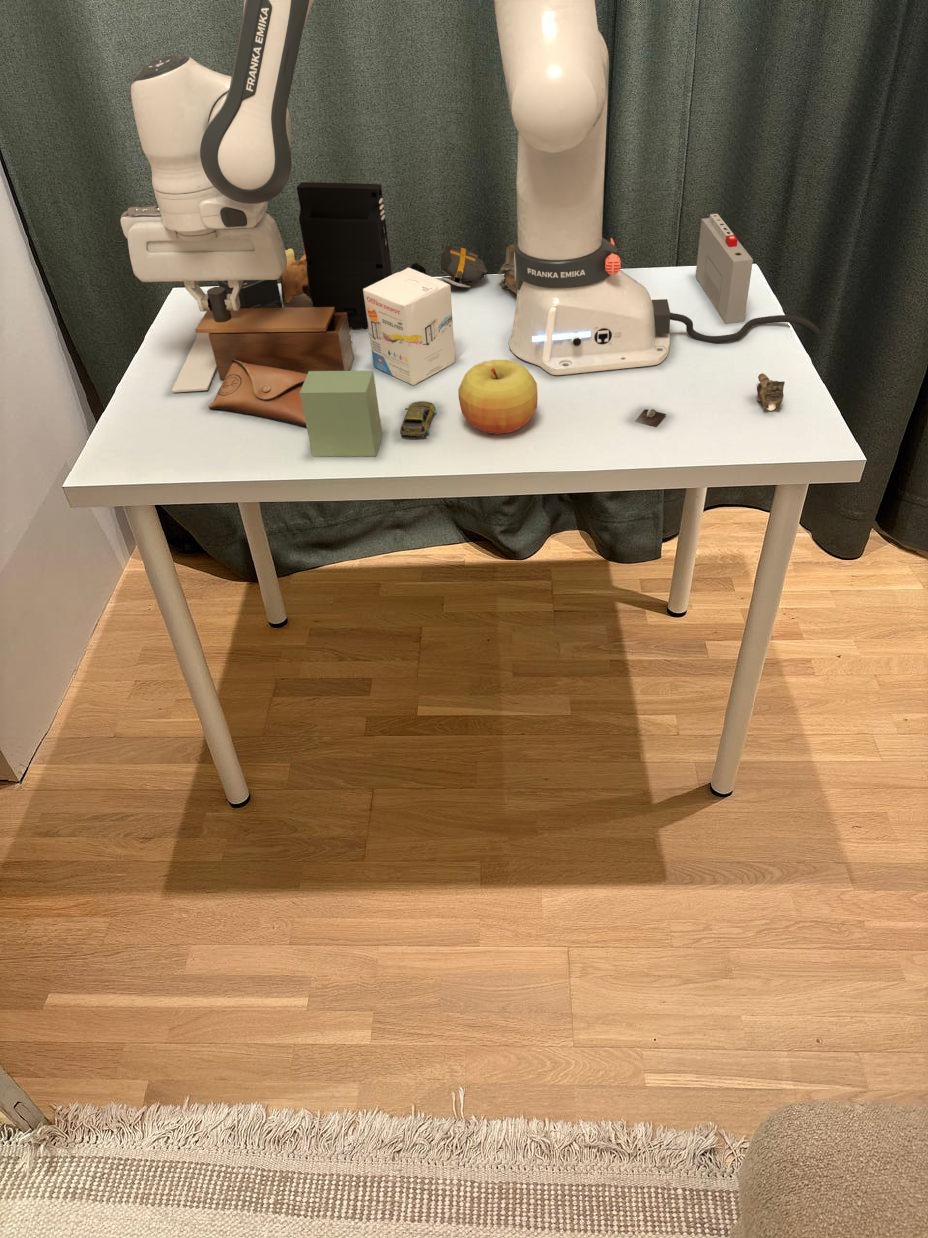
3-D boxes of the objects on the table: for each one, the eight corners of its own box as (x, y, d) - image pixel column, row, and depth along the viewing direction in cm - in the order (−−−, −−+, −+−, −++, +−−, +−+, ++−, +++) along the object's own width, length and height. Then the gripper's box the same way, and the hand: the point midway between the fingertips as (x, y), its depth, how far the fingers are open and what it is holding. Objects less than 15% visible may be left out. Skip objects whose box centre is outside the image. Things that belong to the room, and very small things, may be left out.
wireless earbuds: (410, 290, 150) (437, 286, 153) (410, 274, 149) (438, 270, 151) (387, 276, 155) (414, 272, 157) (388, 260, 153) (415, 256, 155)
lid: (335, 310, 132) (329, 278, 128) (326, 331, 127) (320, 298, 124) (209, 312, 134) (200, 280, 131) (196, 333, 129) (187, 300, 126)
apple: (458, 445, 118) (453, 387, 113) (462, 403, 125) (458, 347, 120) (538, 443, 118) (537, 384, 112) (537, 401, 125) (536, 344, 119)
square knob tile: (656, 427, 119) (656, 418, 118) (634, 421, 120) (634, 413, 119) (666, 414, 120) (666, 406, 119) (645, 408, 121) (645, 400, 120)
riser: (382, 434, 121) (373, 370, 115) (375, 456, 118) (366, 391, 112) (320, 434, 122) (308, 370, 116) (312, 456, 119) (299, 392, 113)
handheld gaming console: (399, 320, 144) (383, 182, 130) (390, 334, 141) (373, 194, 127) (325, 315, 147) (301, 180, 133) (314, 329, 144) (289, 192, 130)
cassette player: (743, 321, 137) (754, 252, 130) (725, 323, 137) (734, 254, 130) (712, 275, 148) (720, 209, 141) (695, 277, 148) (702, 211, 141)
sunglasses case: (202, 407, 128) (206, 356, 126) (233, 408, 134) (237, 359, 133) (319, 429, 122) (325, 376, 120) (346, 429, 129) (352, 378, 127)
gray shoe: (447, 231, 157) (440, 255, 159) (442, 262, 145) (434, 287, 147) (490, 246, 158) (482, 269, 160) (488, 278, 146) (480, 302, 149)
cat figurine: (763, 417, 118) (766, 384, 116) (748, 395, 125) (751, 365, 123) (786, 415, 118) (790, 383, 116) (769, 394, 125) (773, 364, 122)
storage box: (354, 358, 136) (346, 311, 132) (346, 379, 132) (338, 332, 127) (232, 359, 138) (220, 313, 134) (220, 380, 134) (208, 334, 129)
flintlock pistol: (563, 285, 142) (495, 283, 142) (561, 308, 144) (495, 306, 144) (561, 239, 156) (500, 237, 156) (560, 260, 158) (499, 259, 158)
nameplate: (172, 392, 132) (207, 390, 132) (171, 390, 132) (207, 388, 132) (206, 320, 148) (237, 318, 148) (205, 318, 148) (237, 315, 147)
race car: (438, 406, 125) (436, 389, 124) (427, 440, 120) (425, 423, 118) (410, 406, 126) (408, 389, 124) (398, 439, 120) (396, 422, 119)
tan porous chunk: (274, 224, 146) (329, 222, 148) (279, 269, 156) (331, 267, 157) (280, 287, 142) (336, 285, 143) (285, 330, 151) (338, 327, 152)
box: (291, 344, 141) (277, 274, 133) (257, 358, 138) (241, 287, 131) (264, 327, 145) (248, 258, 138) (231, 340, 143) (214, 271, 136)
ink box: (371, 367, 134) (360, 286, 126) (415, 344, 138) (407, 264, 130) (413, 386, 129) (404, 304, 121) (457, 362, 134) (451, 281, 126)
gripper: (107, 216, 119) (139, 320, 129) (266, 212, 117) (287, 319, 126) (125, 197, 124) (155, 299, 133) (278, 193, 122) (298, 297, 131)
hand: (220, 309), depth 130 cm, fingers closed on lid, 2 cm apart
